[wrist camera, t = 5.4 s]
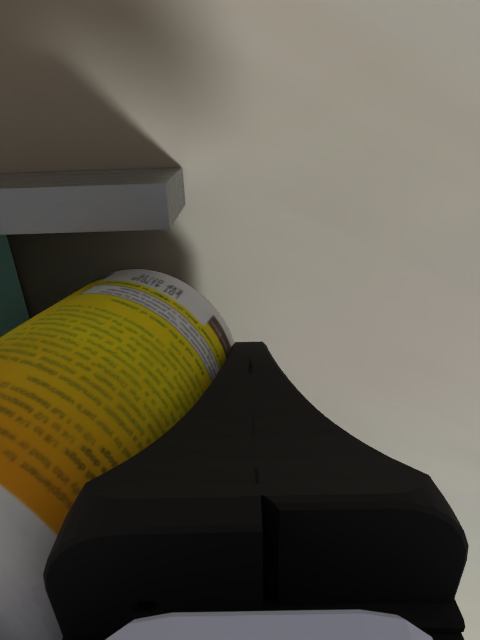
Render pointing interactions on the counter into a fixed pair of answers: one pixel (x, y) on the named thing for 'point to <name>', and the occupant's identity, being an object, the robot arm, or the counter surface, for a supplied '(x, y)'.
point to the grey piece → (90, 201)
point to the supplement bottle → (89, 411)
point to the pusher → (10, 291)
